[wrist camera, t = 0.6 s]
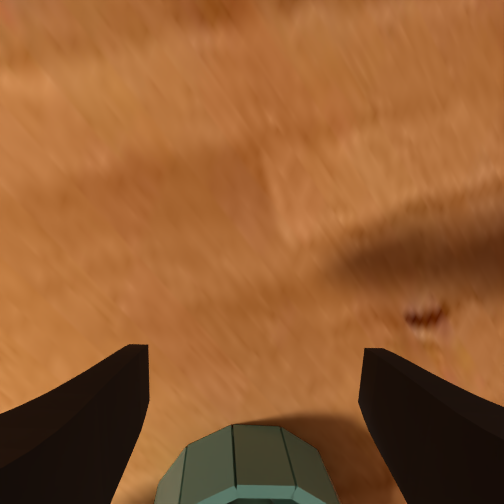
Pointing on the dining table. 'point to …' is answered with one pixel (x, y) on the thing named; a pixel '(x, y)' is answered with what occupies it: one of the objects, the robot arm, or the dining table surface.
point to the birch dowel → (251, 501)
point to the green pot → (248, 469)
